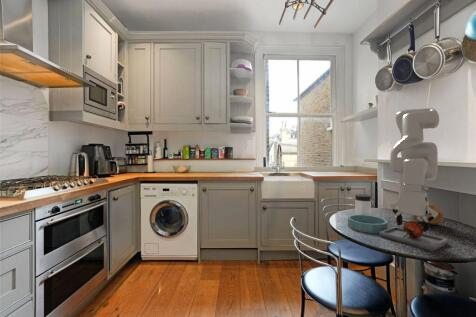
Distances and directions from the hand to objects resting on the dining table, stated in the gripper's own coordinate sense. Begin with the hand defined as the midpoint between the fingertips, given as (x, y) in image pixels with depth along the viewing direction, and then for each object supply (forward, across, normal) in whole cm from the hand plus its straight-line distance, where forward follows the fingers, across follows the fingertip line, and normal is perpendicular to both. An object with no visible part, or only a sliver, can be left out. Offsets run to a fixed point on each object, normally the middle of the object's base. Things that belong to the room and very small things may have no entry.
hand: (412, 227), depth 105 cm
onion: (+6, +4, -32) cm, 33 cm away
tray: (+5, 0, 0) cm, 5 cm away
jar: (+6, +33, -20) cm, 39 cm away
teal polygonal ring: (+5, +20, 0) cm, 20 cm away
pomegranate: (+4, 0, 0) cm, 4 cm away
